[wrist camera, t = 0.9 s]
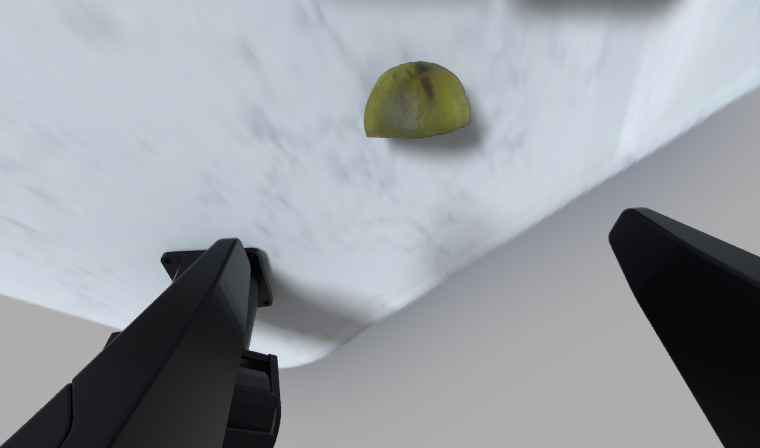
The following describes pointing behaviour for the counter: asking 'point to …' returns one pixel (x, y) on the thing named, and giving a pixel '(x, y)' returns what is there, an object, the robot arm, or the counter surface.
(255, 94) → the counter surface
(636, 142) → the counter surface
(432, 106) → the lime
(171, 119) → the counter surface
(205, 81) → the counter surface
